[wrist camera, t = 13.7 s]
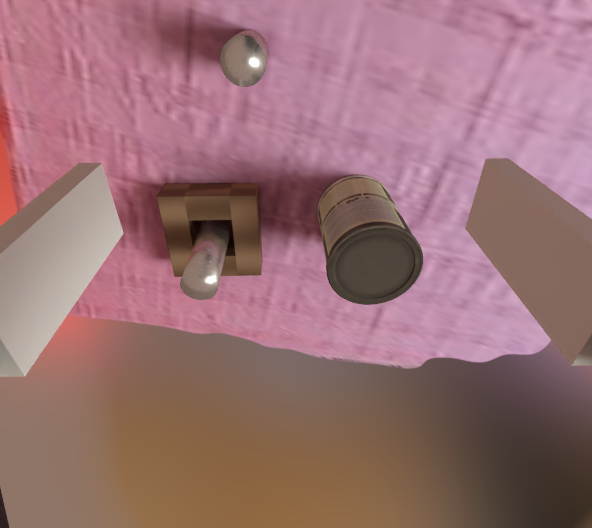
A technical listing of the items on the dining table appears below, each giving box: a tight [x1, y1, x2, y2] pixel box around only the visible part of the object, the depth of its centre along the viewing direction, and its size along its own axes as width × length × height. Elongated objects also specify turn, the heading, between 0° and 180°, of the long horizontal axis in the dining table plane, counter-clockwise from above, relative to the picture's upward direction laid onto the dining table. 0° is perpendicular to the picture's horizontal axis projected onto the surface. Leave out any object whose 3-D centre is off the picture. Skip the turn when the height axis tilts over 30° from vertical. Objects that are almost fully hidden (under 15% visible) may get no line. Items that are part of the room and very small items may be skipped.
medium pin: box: [220, 30, 269, 87], centre depth 37 cm, size 4×4×9 cm
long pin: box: [180, 220, 232, 300], centre depth 47 cm, size 4×4×14 cm
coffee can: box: [317, 175, 423, 305], centre depth 46 cm, size 10×10×14 cm
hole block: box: [157, 183, 262, 277], centre depth 51 cm, size 12×12×4 cm
